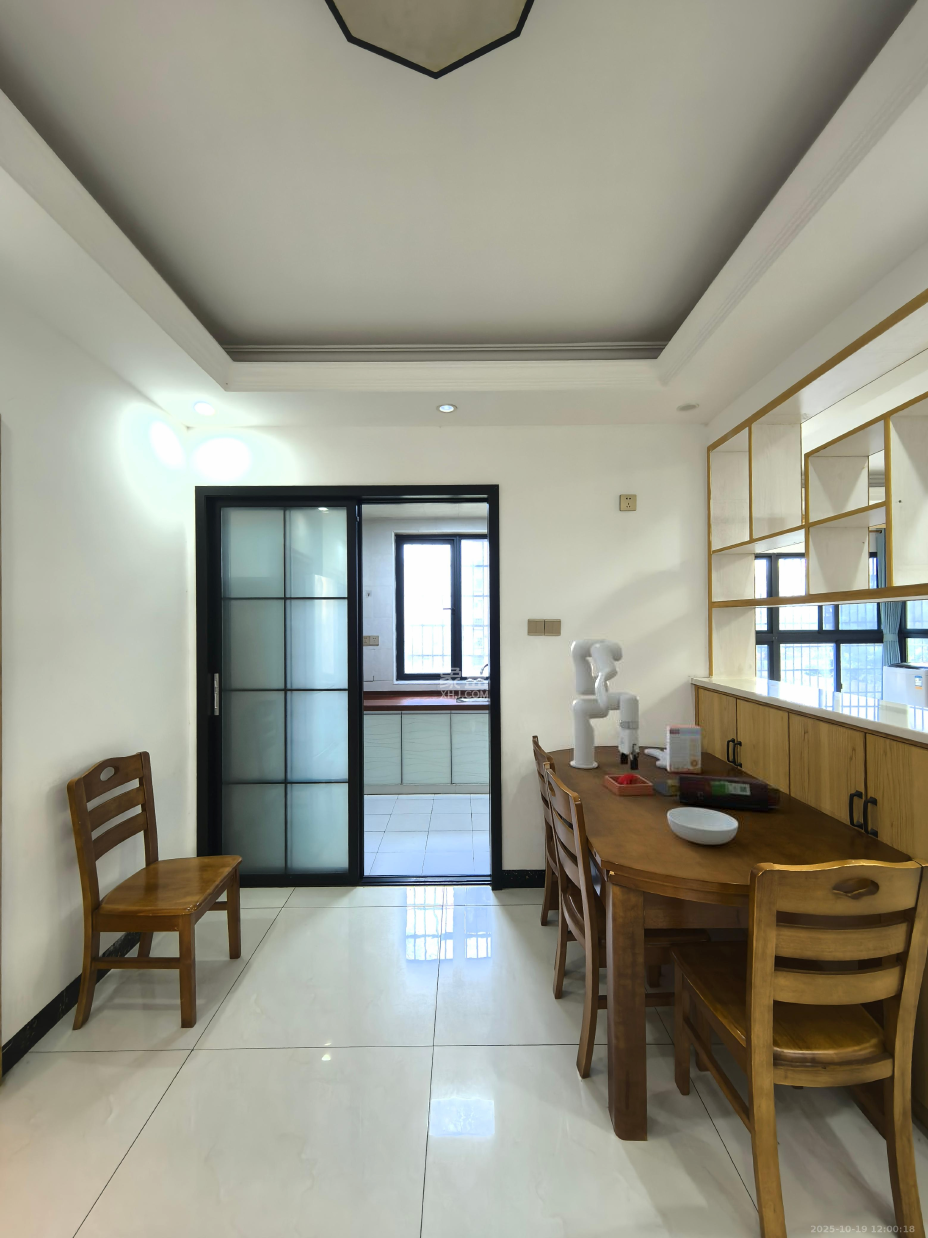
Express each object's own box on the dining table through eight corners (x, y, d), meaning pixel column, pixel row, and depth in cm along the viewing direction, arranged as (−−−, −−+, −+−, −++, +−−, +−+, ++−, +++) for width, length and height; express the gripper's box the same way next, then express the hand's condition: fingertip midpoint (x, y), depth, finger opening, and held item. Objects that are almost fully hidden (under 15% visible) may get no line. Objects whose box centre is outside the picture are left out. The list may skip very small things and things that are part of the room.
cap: (620, 790, 238) (620, 775, 238) (616, 786, 244) (616, 771, 244) (640, 791, 238) (640, 776, 238) (636, 786, 244) (636, 772, 244)
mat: (645, 783, 250) (645, 782, 250) (676, 782, 252) (676, 781, 252) (665, 796, 232) (665, 795, 232) (698, 795, 234) (698, 794, 234)
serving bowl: (702, 857, 174) (702, 833, 174) (653, 832, 193) (653, 811, 193) (753, 846, 182) (753, 824, 182) (701, 824, 201) (701, 804, 201)
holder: (658, 769, 274) (659, 758, 274) (642, 752, 308) (643, 742, 308) (701, 770, 272) (701, 759, 272) (680, 753, 306) (680, 743, 306)
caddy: (604, 785, 247) (604, 775, 247) (637, 784, 249) (637, 774, 249) (618, 795, 232) (618, 785, 232) (653, 794, 234) (653, 784, 234)
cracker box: (697, 770, 272) (697, 725, 272) (701, 774, 266) (701, 727, 266) (665, 769, 273) (666, 724, 273) (669, 772, 267) (669, 726, 267)
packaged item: (668, 804, 222) (668, 778, 222) (665, 797, 231) (666, 771, 231) (782, 814, 212) (783, 786, 212) (775, 805, 222) (775, 779, 222)
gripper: (612, 721, 248) (612, 762, 248) (629, 729, 231) (629, 772, 231) (629, 721, 249) (628, 762, 249) (647, 728, 232) (647, 772, 232)
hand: (629, 767), depth 240 cm, fingers open, 9 cm apart
